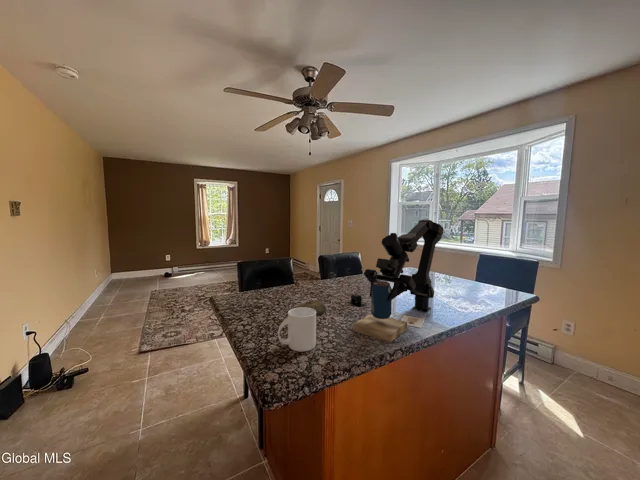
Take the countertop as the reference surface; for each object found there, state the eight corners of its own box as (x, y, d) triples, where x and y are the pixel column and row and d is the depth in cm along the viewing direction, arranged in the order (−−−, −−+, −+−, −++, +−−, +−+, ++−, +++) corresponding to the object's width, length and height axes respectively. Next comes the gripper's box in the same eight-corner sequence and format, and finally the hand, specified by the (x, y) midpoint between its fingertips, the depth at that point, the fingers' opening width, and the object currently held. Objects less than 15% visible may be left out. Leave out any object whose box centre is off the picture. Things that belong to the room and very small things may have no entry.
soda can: (395, 316, 92) (395, 283, 91) (383, 321, 87) (383, 286, 86) (379, 311, 97) (379, 279, 96) (367, 315, 92) (367, 282, 92)
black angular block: (371, 306, 119) (371, 297, 119) (359, 309, 115) (359, 299, 115) (352, 300, 129) (352, 291, 129) (341, 302, 125) (341, 293, 125)
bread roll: (313, 319, 103) (313, 307, 102) (290, 312, 110) (290, 301, 110) (332, 310, 113) (332, 299, 112) (310, 305, 120) (310, 294, 120)
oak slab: (372, 319, 102) (372, 313, 102) (407, 328, 93) (407, 321, 93) (353, 330, 91) (353, 323, 91) (390, 342, 82) (390, 334, 82)
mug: (273, 344, 81) (273, 311, 80) (309, 337, 86) (309, 305, 85) (282, 357, 73) (282, 320, 72) (320, 348, 78) (320, 313, 78)
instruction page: (404, 315, 106) (404, 315, 106) (425, 319, 102) (425, 318, 102) (398, 323, 98) (398, 323, 98) (421, 328, 94) (421, 327, 94)
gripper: (366, 248, 100) (348, 281, 93) (412, 252, 86) (394, 291, 80) (378, 265, 106) (361, 297, 99) (422, 272, 92) (406, 309, 86)
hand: (379, 298), depth 91 cm, fingers closed on soda can, 7 cm apart
